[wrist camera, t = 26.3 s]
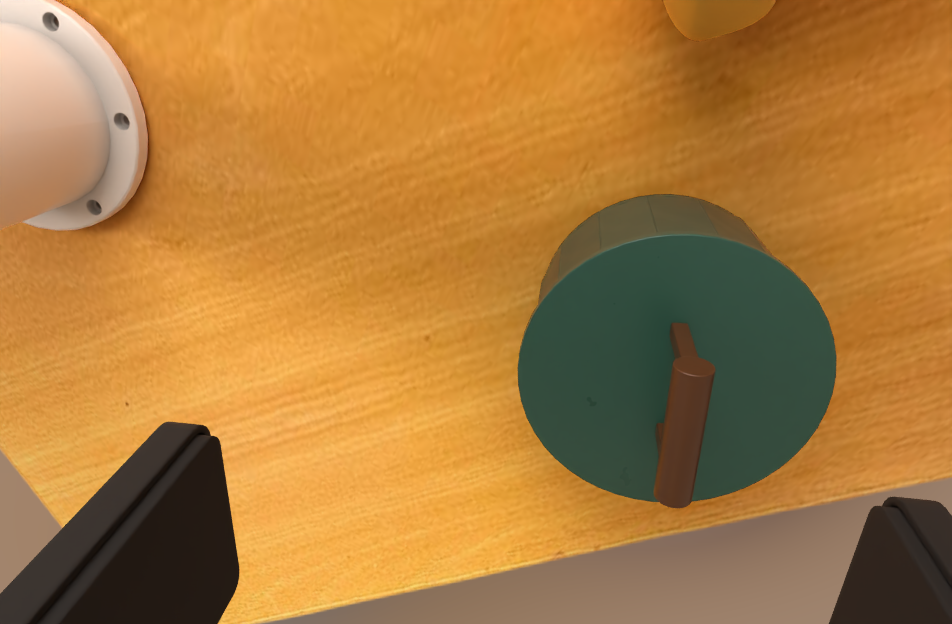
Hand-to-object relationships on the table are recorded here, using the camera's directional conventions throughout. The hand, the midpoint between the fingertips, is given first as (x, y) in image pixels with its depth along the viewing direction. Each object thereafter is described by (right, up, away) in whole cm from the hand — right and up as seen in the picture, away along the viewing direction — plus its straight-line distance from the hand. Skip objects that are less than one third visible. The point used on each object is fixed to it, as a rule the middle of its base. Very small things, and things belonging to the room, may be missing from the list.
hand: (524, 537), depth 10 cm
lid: (+8, 0, +20) cm, 22 cm away
